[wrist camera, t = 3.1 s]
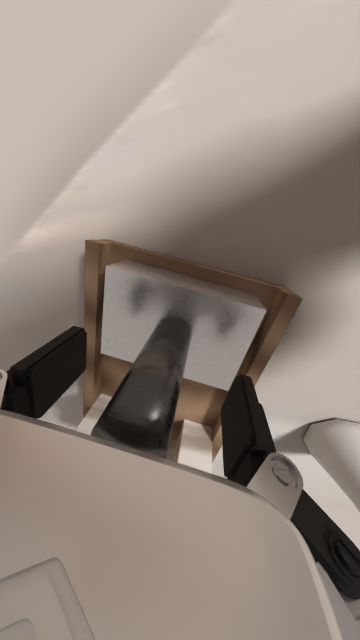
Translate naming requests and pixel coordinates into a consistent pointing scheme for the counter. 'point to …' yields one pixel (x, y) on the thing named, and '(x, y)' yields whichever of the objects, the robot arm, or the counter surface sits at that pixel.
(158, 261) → the wooden tray
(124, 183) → the counter surface
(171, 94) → the counter surface
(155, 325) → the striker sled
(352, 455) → the flask
